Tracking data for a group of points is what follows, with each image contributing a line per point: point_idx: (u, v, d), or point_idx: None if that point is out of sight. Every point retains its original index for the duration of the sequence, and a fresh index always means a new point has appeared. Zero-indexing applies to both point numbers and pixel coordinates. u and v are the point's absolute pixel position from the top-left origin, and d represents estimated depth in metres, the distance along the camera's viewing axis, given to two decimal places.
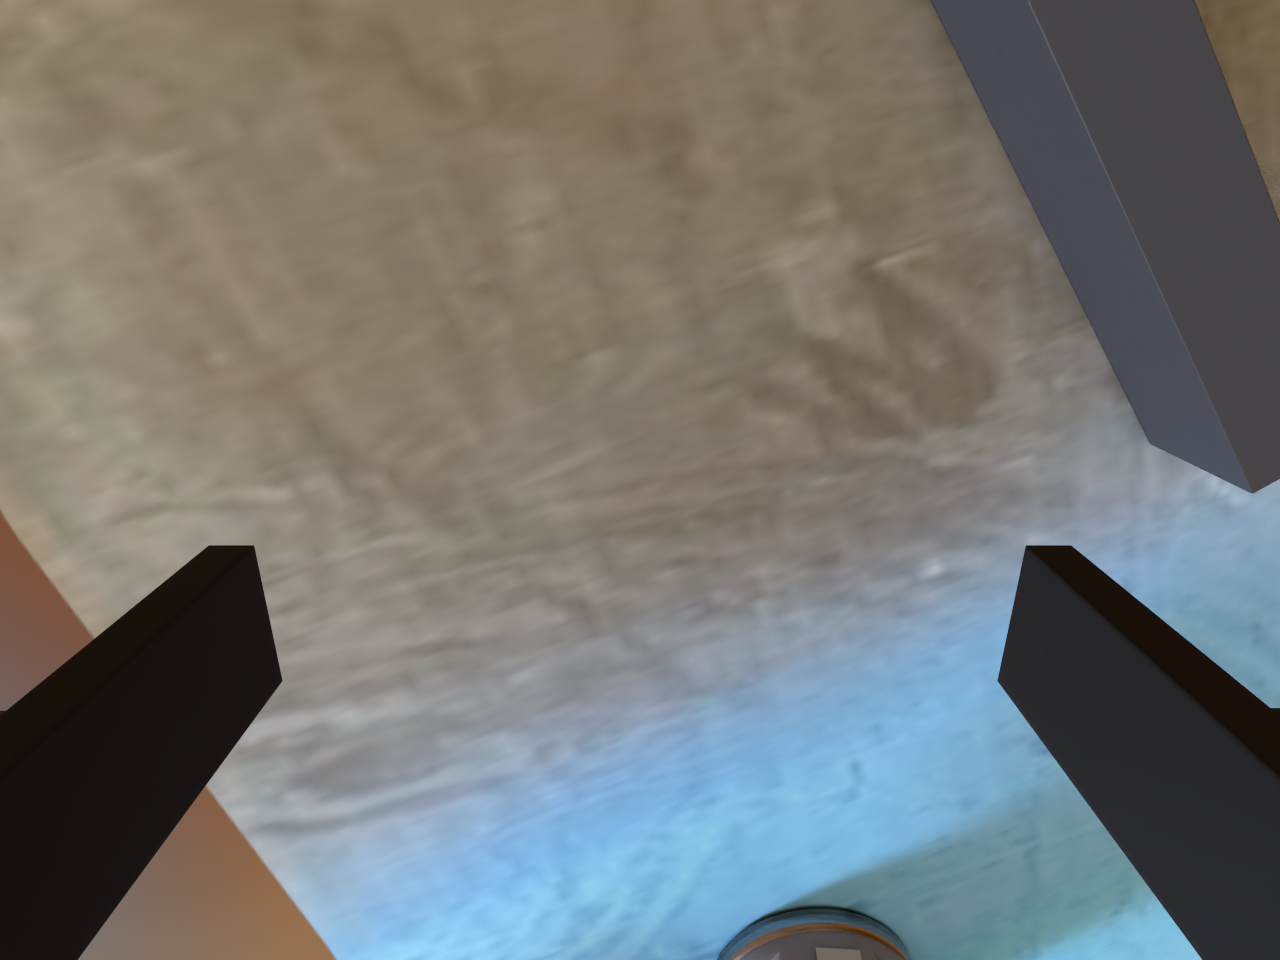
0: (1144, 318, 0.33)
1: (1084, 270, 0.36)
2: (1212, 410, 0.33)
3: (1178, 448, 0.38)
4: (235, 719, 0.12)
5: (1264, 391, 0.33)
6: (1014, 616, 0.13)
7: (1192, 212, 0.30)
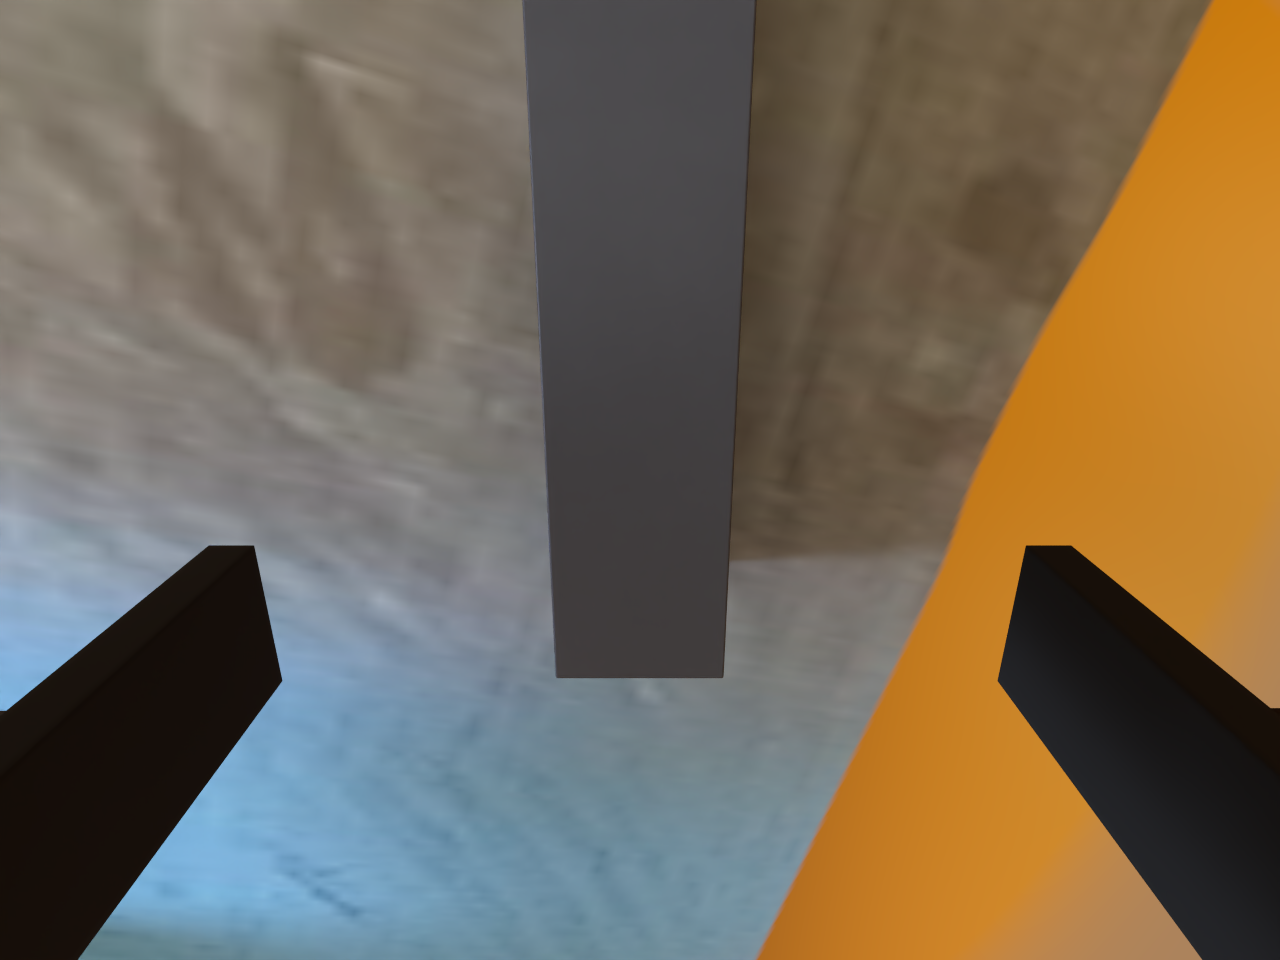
0: None
1: None
2: (549, 527, 0.20)
3: None
4: (235, 718, 0.12)
5: (625, 542, 0.20)
6: (1014, 616, 0.13)
7: (627, 190, 0.17)
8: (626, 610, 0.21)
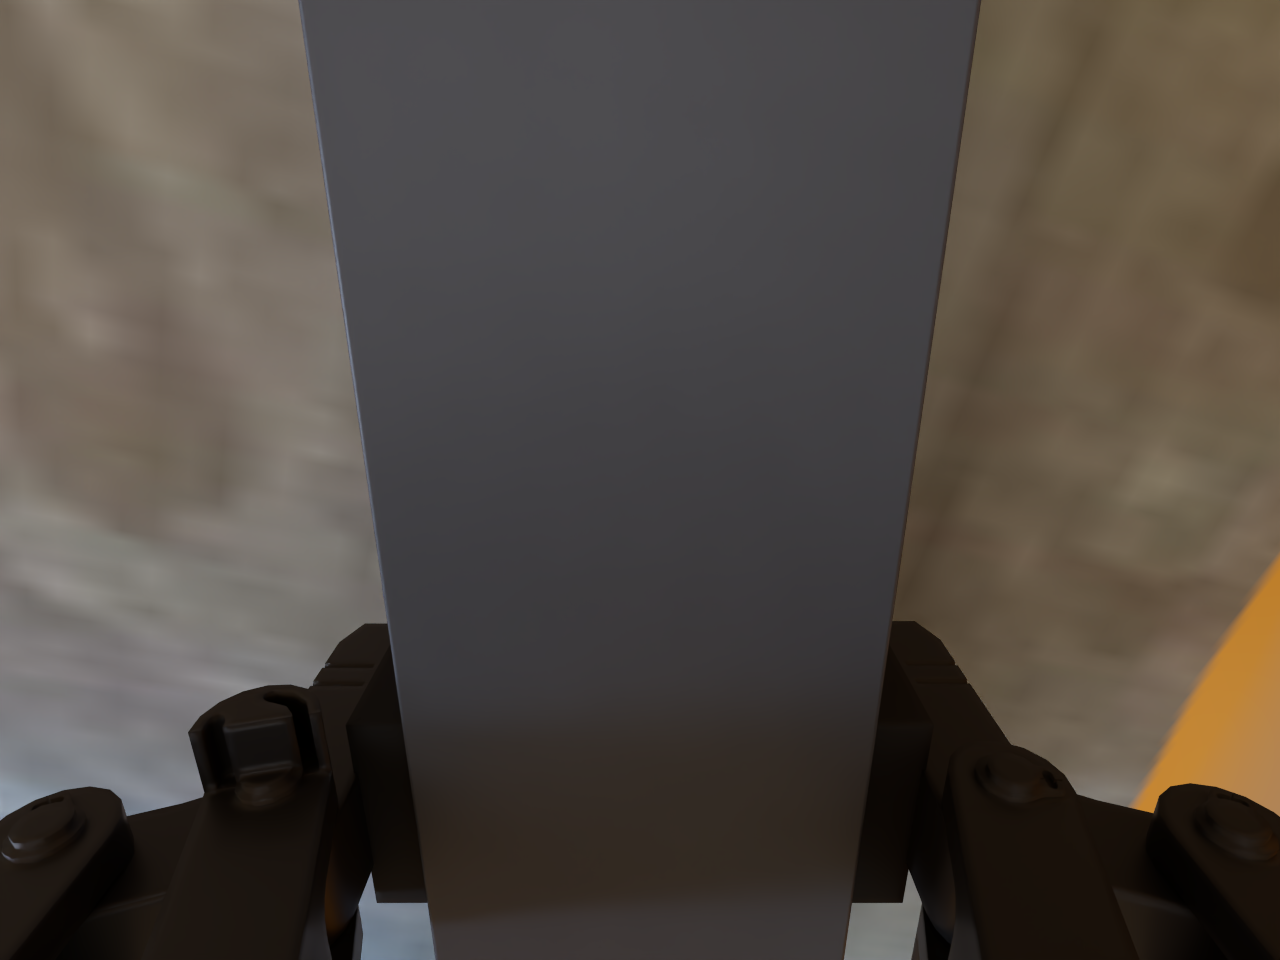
0: None
1: None
2: (436, 942, 0.09)
3: None
4: None
5: None
6: None
7: (604, 185, 0.06)
8: None
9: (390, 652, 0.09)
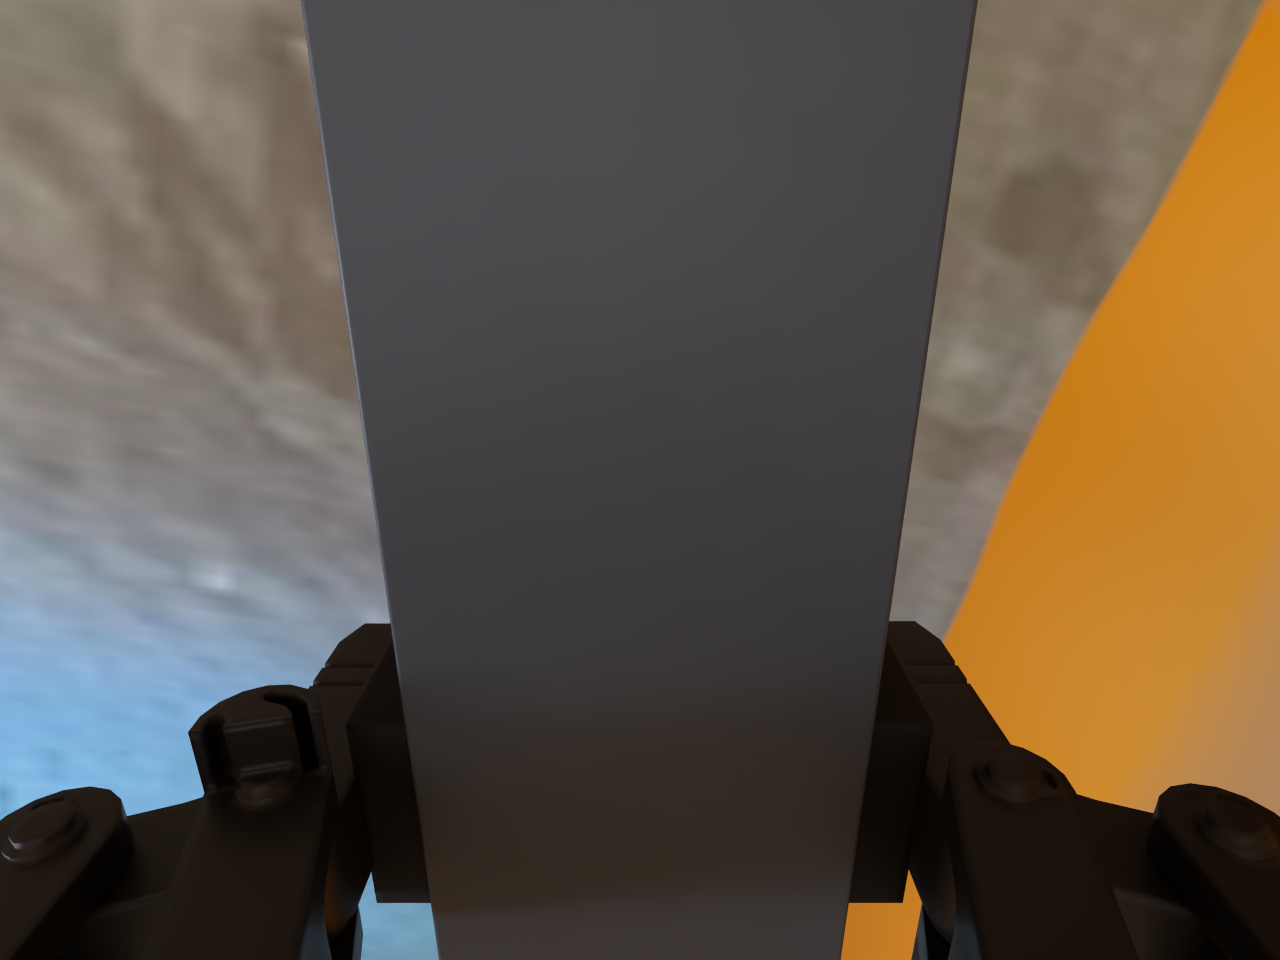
0: None
1: None
2: (438, 935, 0.09)
3: None
4: None
5: None
6: None
7: (604, 188, 0.06)
8: None
9: (390, 653, 0.09)
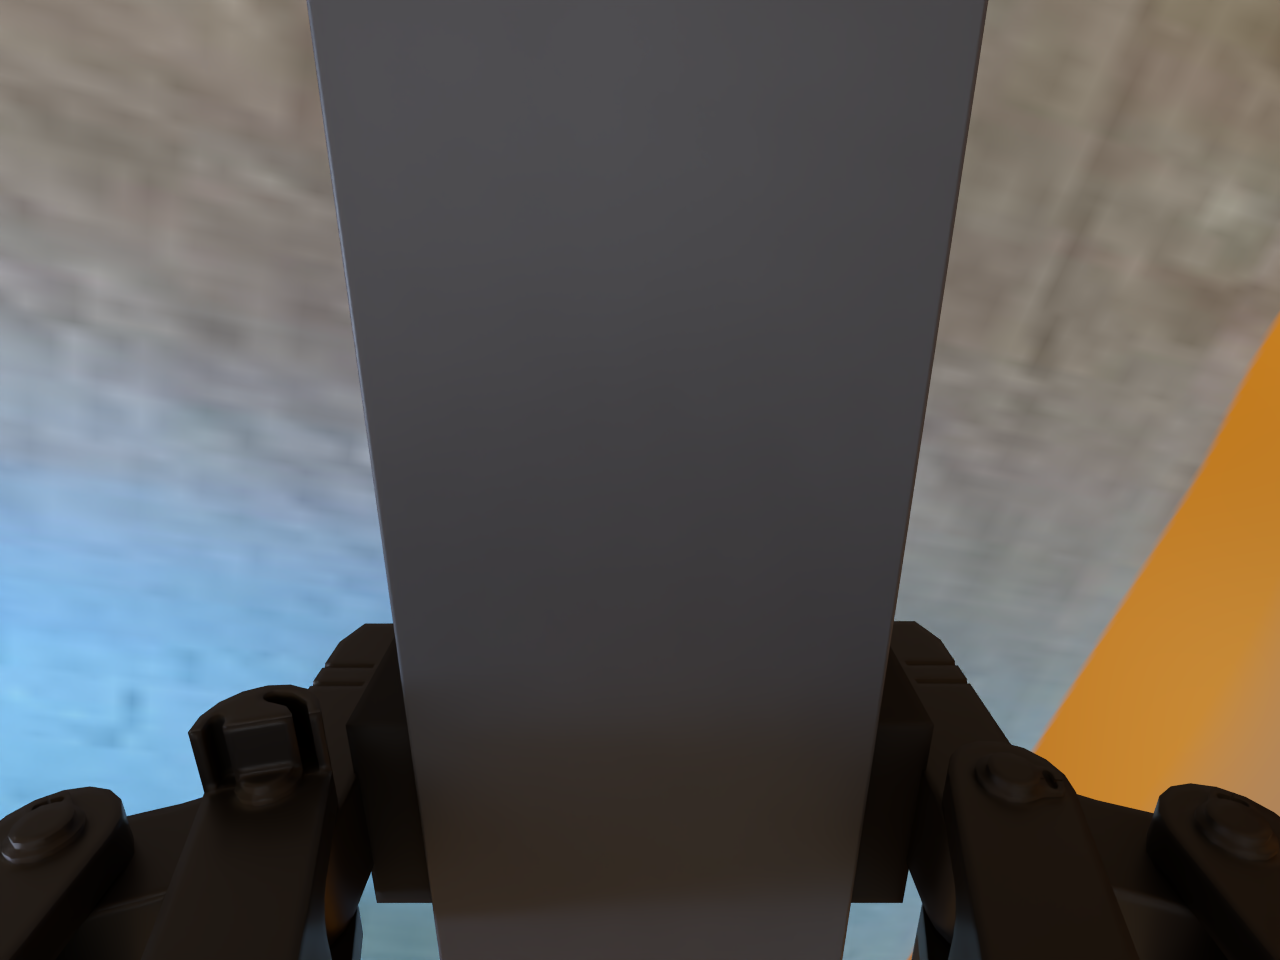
0: None
1: None
2: (440, 934, 0.09)
3: None
4: None
5: None
6: None
7: (610, 186, 0.06)
8: None
9: (390, 653, 0.09)
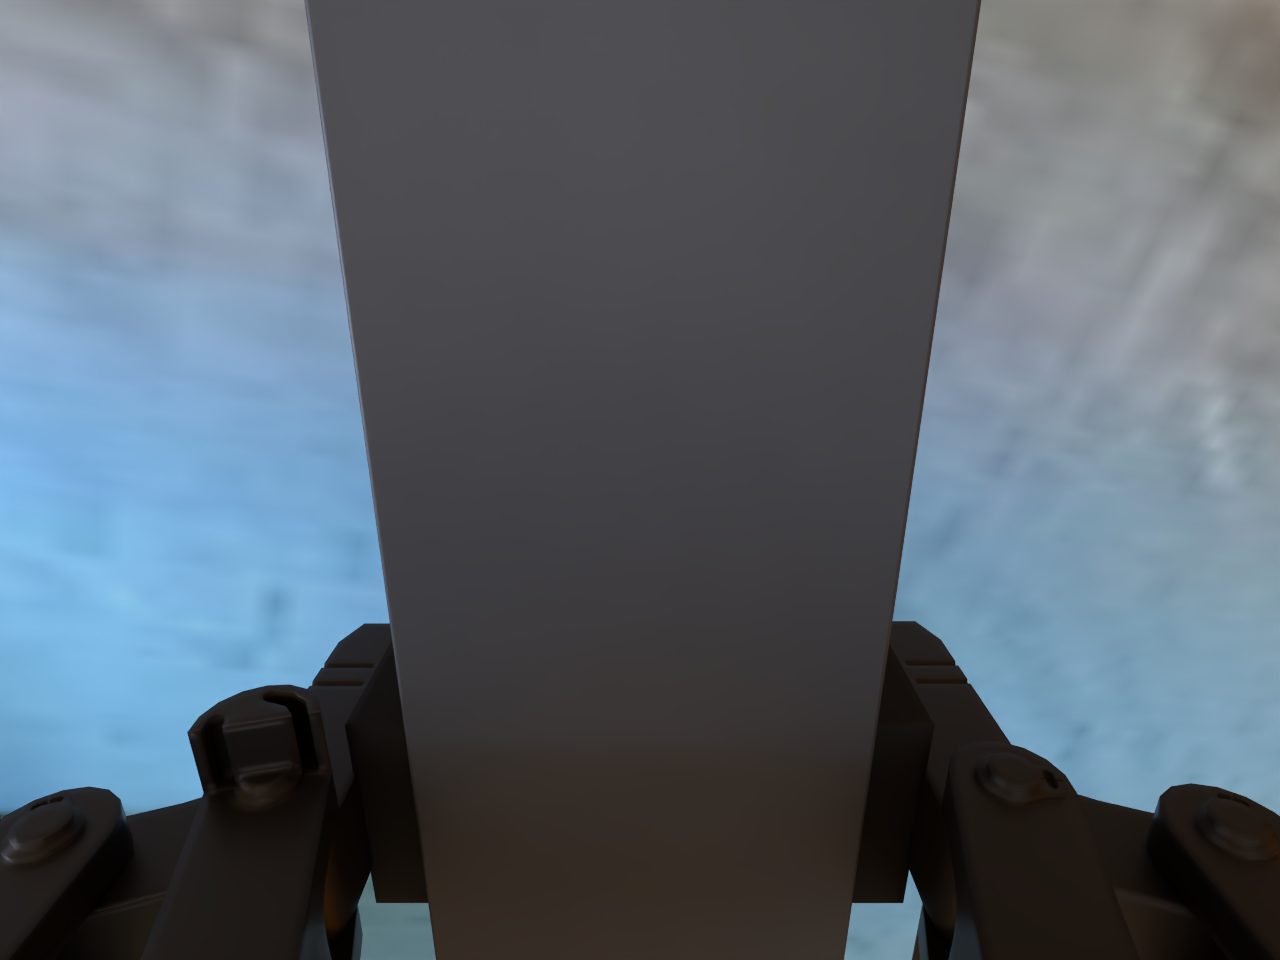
0: None
1: None
2: (437, 940, 0.09)
3: None
4: None
5: None
6: None
7: (607, 180, 0.06)
8: None
9: (389, 653, 0.09)
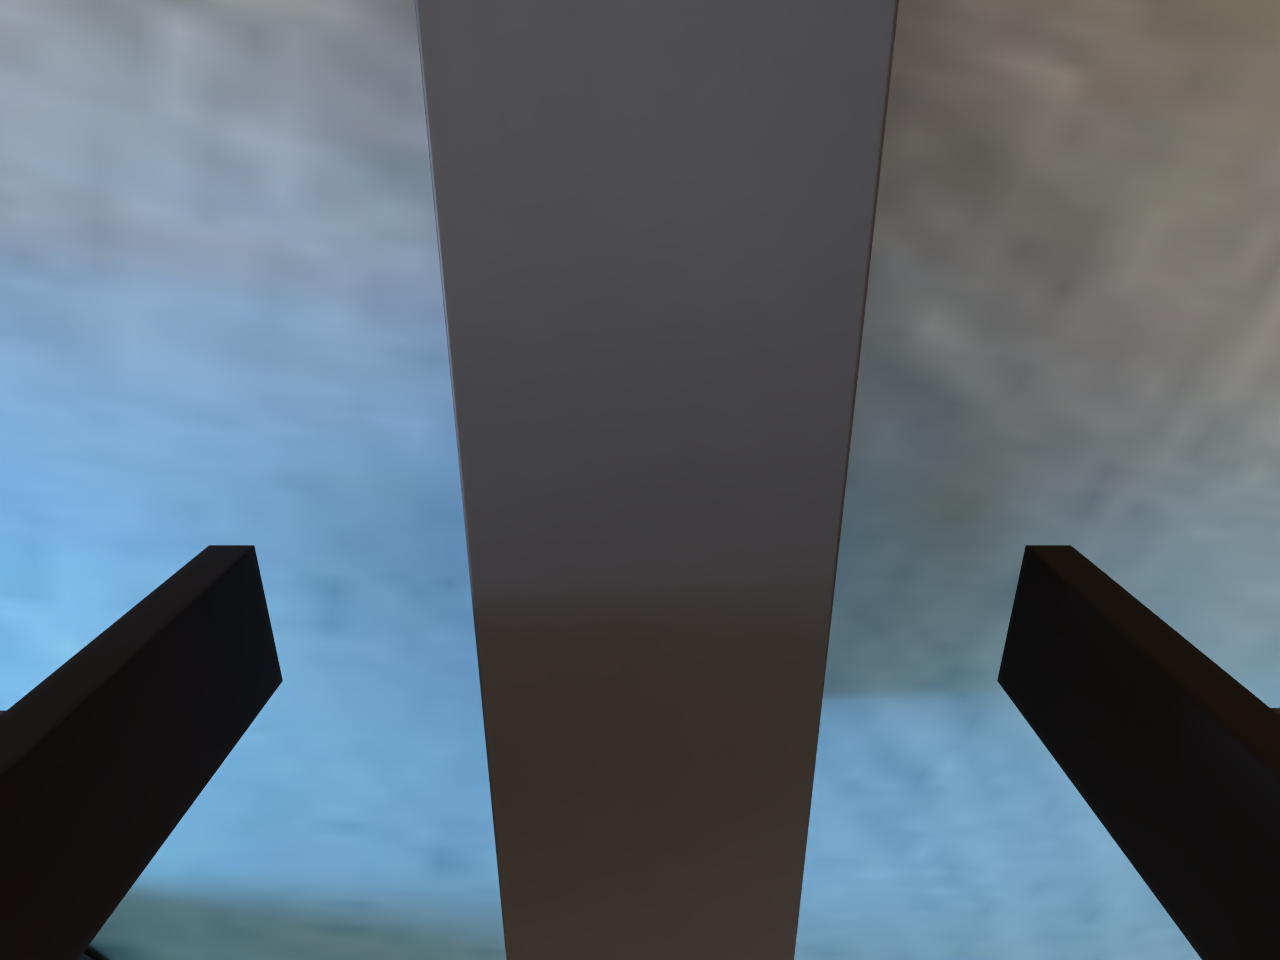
0: None
1: None
2: (486, 740, 0.11)
3: None
4: (235, 718, 0.12)
5: (624, 769, 0.11)
6: (1013, 616, 0.13)
7: (629, 108, 0.08)
8: (627, 872, 0.12)
9: None
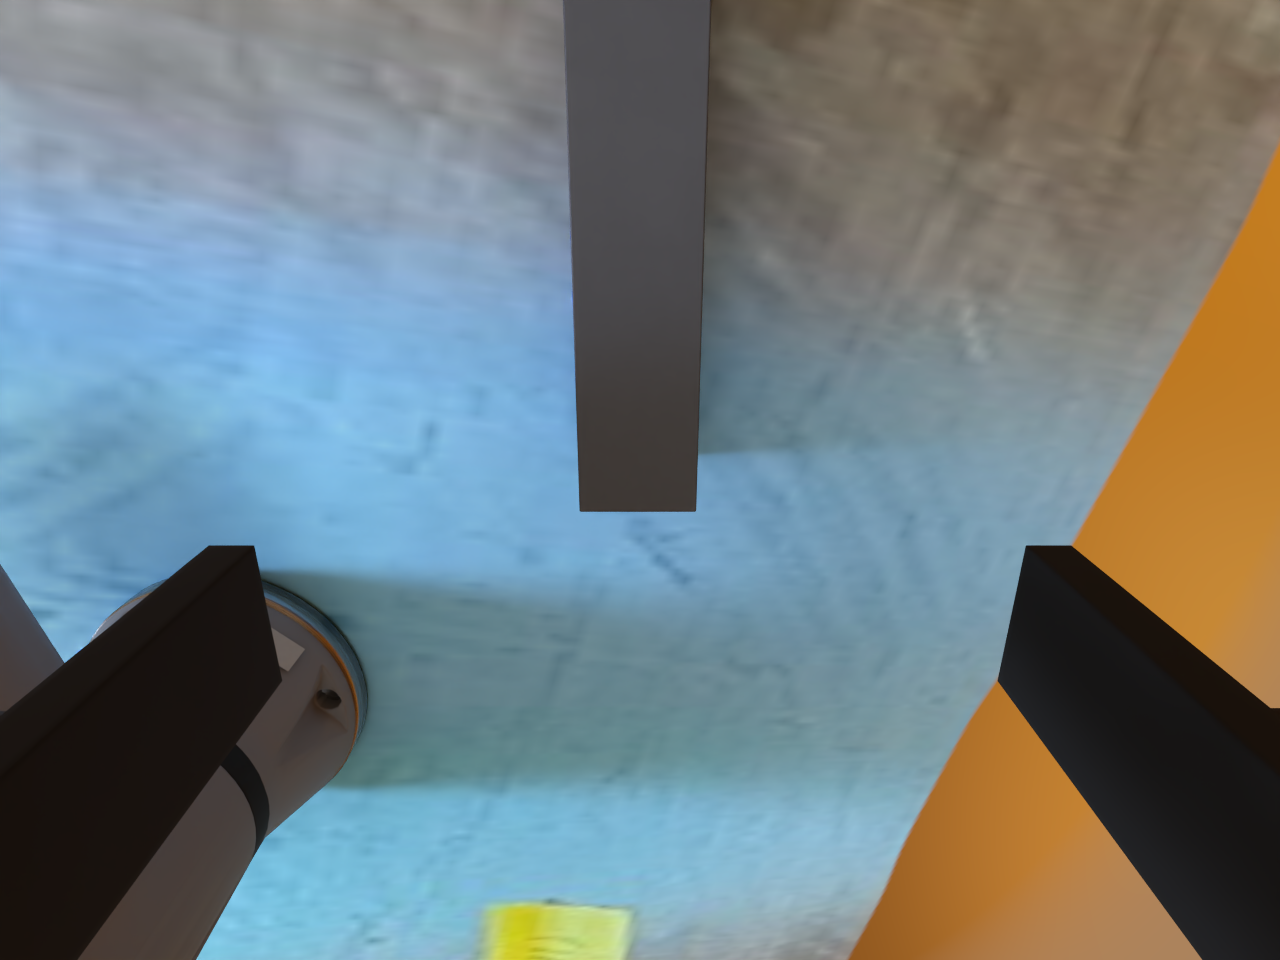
0: None
1: None
2: (576, 400, 0.30)
3: None
4: (235, 718, 0.12)
5: (627, 410, 0.30)
6: (1013, 616, 0.13)
7: (629, 170, 0.27)
8: (628, 460, 0.31)
9: None
